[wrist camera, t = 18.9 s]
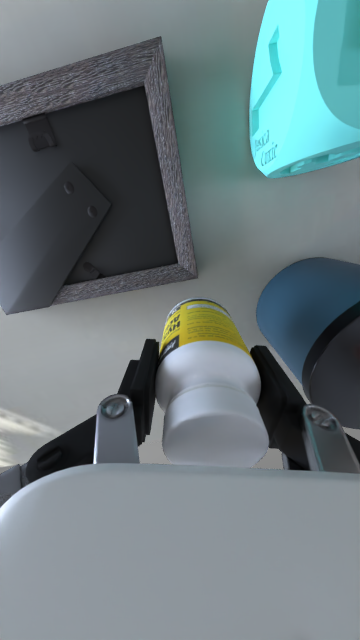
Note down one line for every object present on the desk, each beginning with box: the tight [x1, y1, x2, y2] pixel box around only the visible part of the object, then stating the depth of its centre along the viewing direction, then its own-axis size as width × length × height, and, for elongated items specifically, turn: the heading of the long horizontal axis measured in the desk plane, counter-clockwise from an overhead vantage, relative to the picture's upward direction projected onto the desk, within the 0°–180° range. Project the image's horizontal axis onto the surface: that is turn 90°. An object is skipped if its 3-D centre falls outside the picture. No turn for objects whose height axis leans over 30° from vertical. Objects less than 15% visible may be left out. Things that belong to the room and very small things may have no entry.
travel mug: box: [256, 258, 360, 429], centre depth 17 cm, size 12×12×11 cm
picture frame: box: [0, 36, 198, 315], centre depth 17 cm, size 16×2×21 cm
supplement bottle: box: [155, 297, 269, 468], centre depth 11 cm, size 5×5×10 cm
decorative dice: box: [249, 0, 360, 178], centre depth 11 cm, size 8×8×8 cm
